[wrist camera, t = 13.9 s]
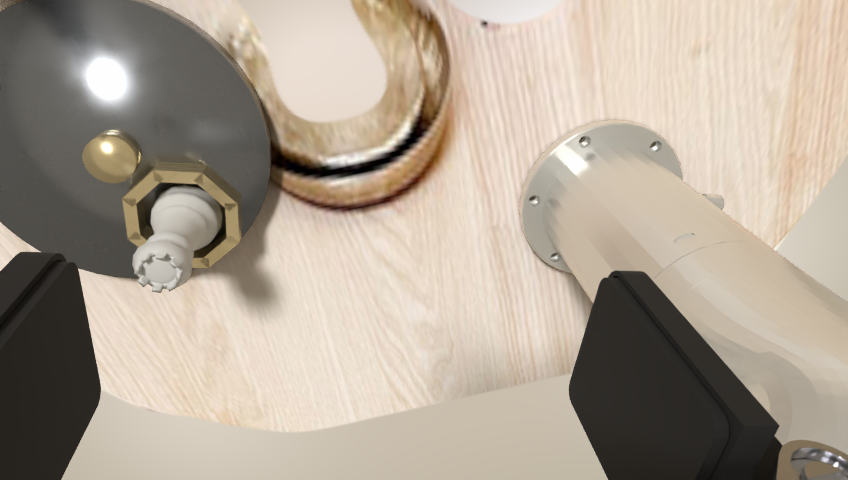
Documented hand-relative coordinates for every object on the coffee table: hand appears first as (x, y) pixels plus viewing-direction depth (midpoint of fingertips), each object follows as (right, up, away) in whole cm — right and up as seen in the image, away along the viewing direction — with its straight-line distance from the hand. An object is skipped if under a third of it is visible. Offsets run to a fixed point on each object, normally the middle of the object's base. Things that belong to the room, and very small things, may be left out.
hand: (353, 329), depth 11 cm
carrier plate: (-19, +8, +28) cm, 34 cm away
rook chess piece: (-15, +4, +29) cm, 33 cm away
